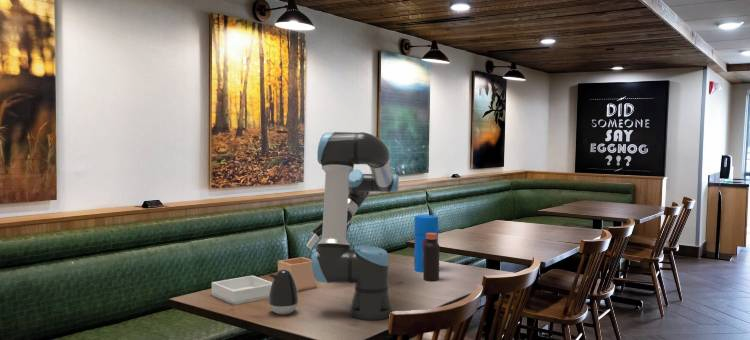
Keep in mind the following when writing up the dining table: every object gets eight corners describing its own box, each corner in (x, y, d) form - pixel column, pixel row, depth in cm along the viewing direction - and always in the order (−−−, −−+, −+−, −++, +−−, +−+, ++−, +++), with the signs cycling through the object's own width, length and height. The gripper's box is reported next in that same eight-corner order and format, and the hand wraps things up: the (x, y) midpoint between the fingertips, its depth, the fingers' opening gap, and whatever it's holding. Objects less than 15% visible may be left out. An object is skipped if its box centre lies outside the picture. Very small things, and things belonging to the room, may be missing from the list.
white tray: (276, 296, 229) (276, 283, 229) (233, 305, 218) (233, 291, 217) (252, 287, 243) (252, 275, 243) (211, 295, 231) (211, 282, 231)
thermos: (442, 270, 276) (442, 216, 275) (428, 273, 269) (428, 218, 267) (423, 266, 284) (424, 214, 282) (409, 270, 276) (409, 216, 275)
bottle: (431, 282, 253) (431, 235, 252) (420, 279, 258) (420, 233, 257) (442, 279, 258) (442, 233, 257) (430, 276, 263) (431, 231, 262)
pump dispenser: (263, 311, 210) (263, 268, 209) (289, 306, 216) (289, 265, 215) (276, 318, 202) (275, 274, 201) (303, 313, 208) (303, 270, 207)
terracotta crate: (316, 287, 243) (316, 261, 243) (291, 292, 235) (291, 265, 235) (302, 283, 251) (302, 257, 250) (277, 287, 243) (277, 261, 242)
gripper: (369, 219, 250) (340, 260, 242) (333, 213, 269) (306, 250, 260) (359, 208, 247) (330, 248, 238) (324, 203, 266) (295, 240, 257)
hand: (317, 249), depth 249 cm, fingers open, 13 cm apart
